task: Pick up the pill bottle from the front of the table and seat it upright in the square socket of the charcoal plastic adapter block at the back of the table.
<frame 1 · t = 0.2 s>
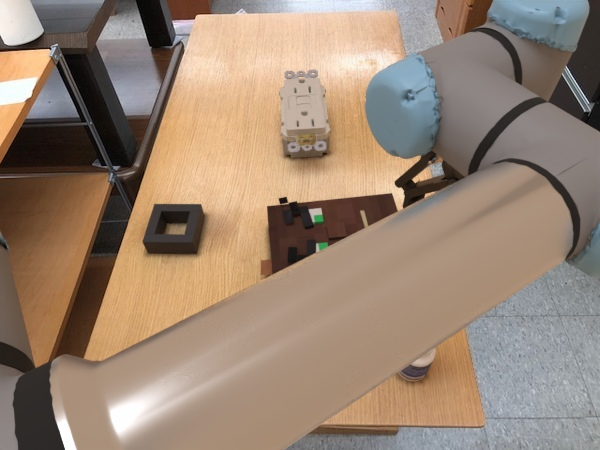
hand: (445, 253, 64), 20 cm above the table, tool pointing down, fingers open, 13 cm apart
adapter: (177, 234, 94), on the table
decorative book: (335, 253, 89), on the table
electrical outlet: (304, 134, 112), on the table
pill bottle: (410, 366, 74), on the table
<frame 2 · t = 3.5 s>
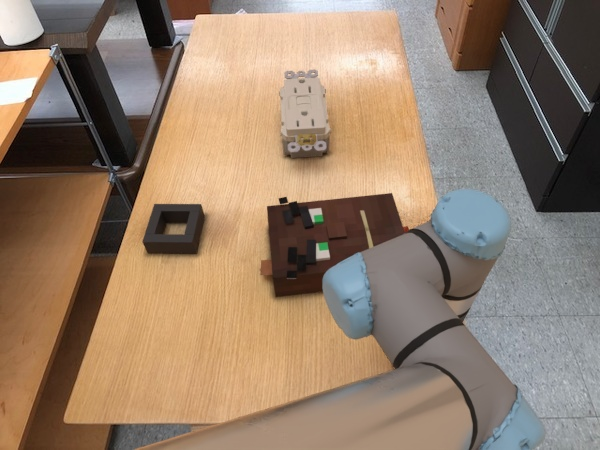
hand: (412, 362, 73), 1 cm above the table, tool pointing down, fingers closed on pill bottle, 5 cm apart
pill bottle: (410, 366, 74), on the table, touching gripper
everything else where it was.
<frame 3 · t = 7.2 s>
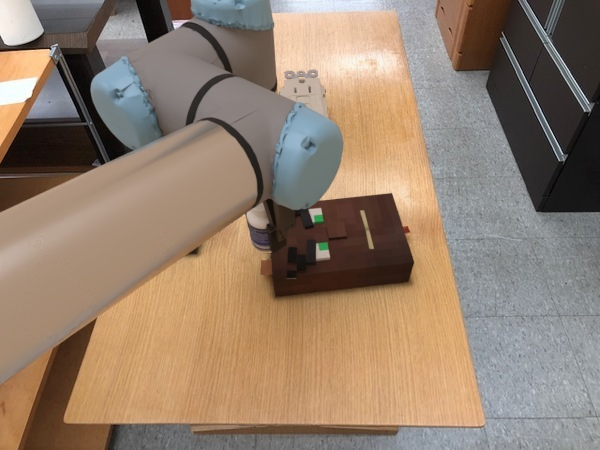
hand: (267, 235, 71), 17 cm above the table, tool pointing down, fingers closed on pill bottle, 5 cm apart
pill bottle: (268, 241, 73), point 15 cm above the table, touching gripper
everything else where it was.
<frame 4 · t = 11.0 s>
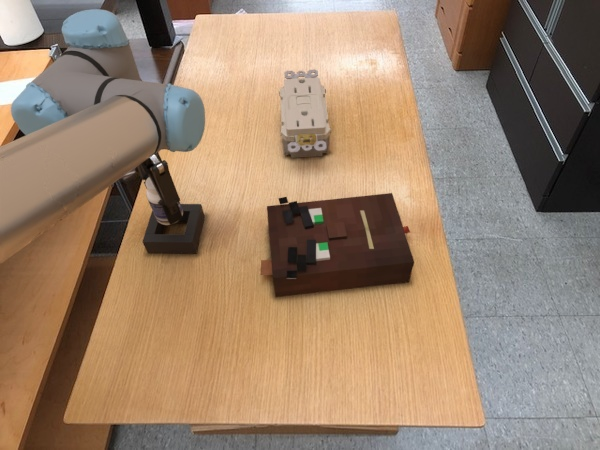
hand: (168, 211, 88), 7 cm above the table, tool pointing down, fingers closed on pill bottle, 5 cm apart
pill bottle: (170, 215, 89), point 6 cm above the table, touching gripper
everything else where it was.
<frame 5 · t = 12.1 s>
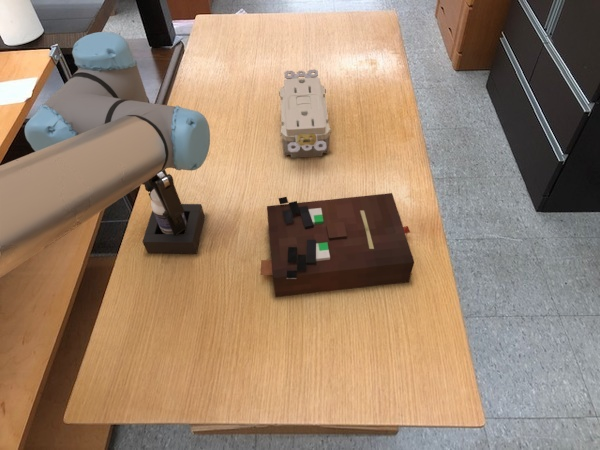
hand: (172, 221, 90), 4 cm above the table, tool pointing down, fingers closed on pill bottle, 5 cm apart
pill bottle: (174, 226, 91), point 3 cm above the table, touching gripper
everything else where it was.
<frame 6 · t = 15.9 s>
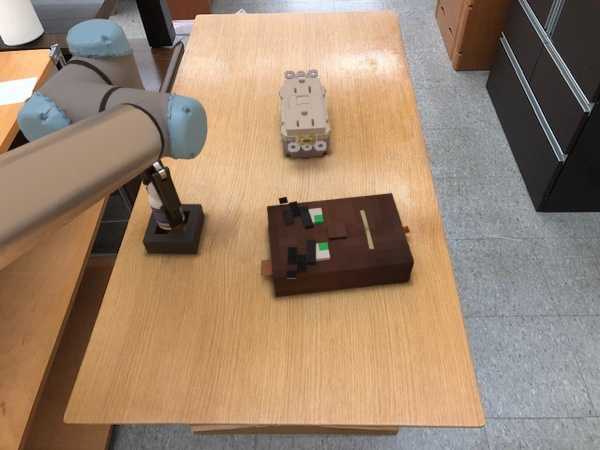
hand: (169, 216, 89), 6 cm above the table, tool pointing down, fingers closed on pill bottle, 5 cm apart
pill bottle: (171, 220, 90), point 5 cm above the table, touching gripper
everything else where it was.
when the fingers open (6 cm above the table, at t = 18.9 s): pill bottle drops 5 cm, resting in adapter.
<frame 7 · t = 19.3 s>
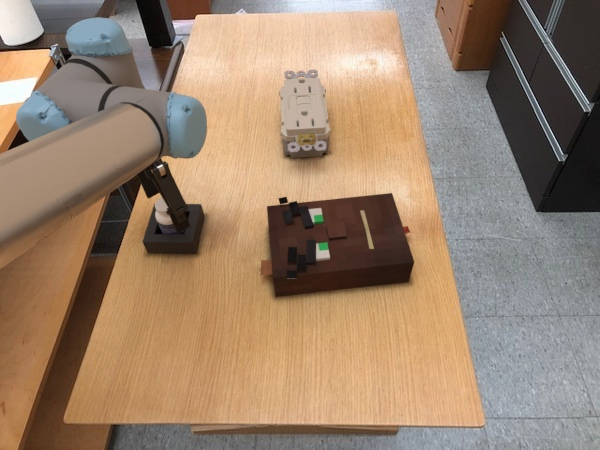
hand: (167, 211, 88), 8 cm above the table, tool pointing down, fingers open, 11 cm apart
pill bottle: (177, 234, 94), resting in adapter
everything else where it was.
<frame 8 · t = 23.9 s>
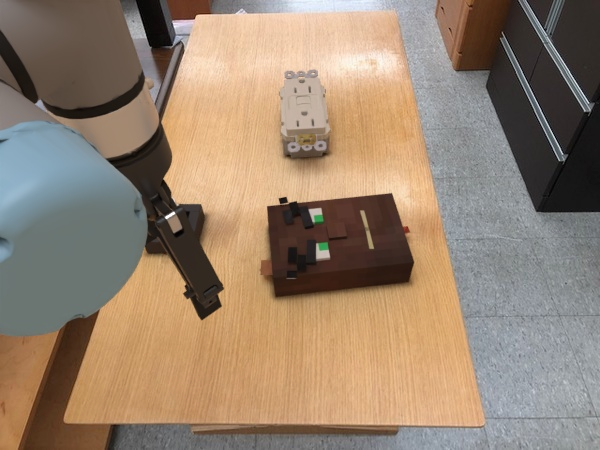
hand: (179, 272, 53), 29 cm above the table, tool pointing down, fingers open, 13 cm apart
nothing on the table moved.
at the end: pill bottle 0.0 cm off-centre in the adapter, point 0.0 cm above the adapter's base; pill bottle tilted 0° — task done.
